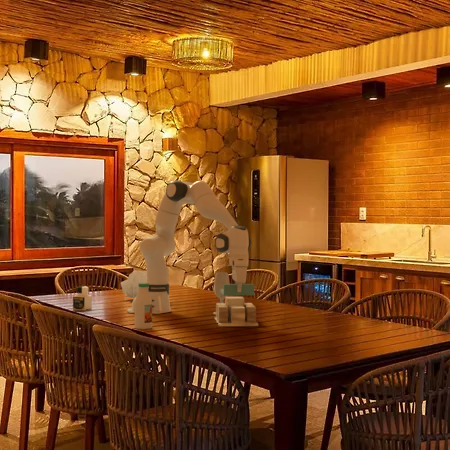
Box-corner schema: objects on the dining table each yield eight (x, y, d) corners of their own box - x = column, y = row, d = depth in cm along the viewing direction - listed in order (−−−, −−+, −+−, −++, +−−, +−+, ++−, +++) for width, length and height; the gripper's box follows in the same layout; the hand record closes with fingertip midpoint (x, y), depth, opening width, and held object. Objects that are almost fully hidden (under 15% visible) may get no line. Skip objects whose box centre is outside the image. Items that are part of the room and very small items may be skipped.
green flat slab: (220, 292, 320) (220, 281, 320) (249, 291, 321) (249, 281, 321) (223, 295, 306) (223, 284, 306) (254, 295, 308) (254, 284, 307)
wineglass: (228, 316, 335) (228, 273, 334) (211, 315, 336) (211, 273, 336) (231, 313, 343) (232, 272, 343) (214, 312, 345) (215, 271, 344)
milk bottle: (138, 330, 292) (138, 284, 292) (132, 327, 299) (132, 282, 299) (154, 328, 296) (155, 283, 295) (148, 326, 303) (148, 281, 302)
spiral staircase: (138, 304, 400) (163, 307, 381) (115, 294, 389) (140, 296, 371) (148, 276, 405) (174, 277, 387) (126, 264, 395) (151, 265, 376)
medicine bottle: (72, 309, 350) (72, 286, 350) (80, 307, 357) (80, 285, 357) (84, 310, 348) (84, 287, 348) (92, 308, 354) (92, 286, 354)
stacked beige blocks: (214, 319, 324) (214, 296, 324) (251, 318, 326) (251, 296, 326) (219, 326, 304) (219, 302, 304) (258, 326, 307) (258, 301, 306)
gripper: (229, 259, 317) (228, 288, 318) (234, 263, 297) (234, 294, 297) (242, 259, 318) (242, 288, 318) (249, 263, 298) (248, 294, 298)
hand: (238, 291), depth 308 cm, fingers closed on green flat slab
